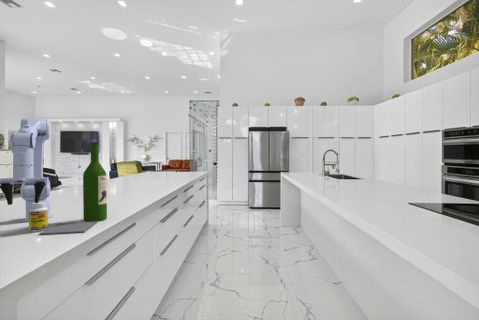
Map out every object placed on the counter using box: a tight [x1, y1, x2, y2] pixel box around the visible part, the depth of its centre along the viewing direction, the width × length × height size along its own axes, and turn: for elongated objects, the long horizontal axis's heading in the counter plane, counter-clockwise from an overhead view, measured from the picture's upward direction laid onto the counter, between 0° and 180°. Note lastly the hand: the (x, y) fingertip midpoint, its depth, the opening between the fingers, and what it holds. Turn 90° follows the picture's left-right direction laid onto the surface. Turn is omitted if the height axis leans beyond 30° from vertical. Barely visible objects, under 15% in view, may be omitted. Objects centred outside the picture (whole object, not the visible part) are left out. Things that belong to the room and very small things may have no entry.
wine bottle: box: [82, 144, 108, 223], centre depth 115 cm, size 9×9×32 cm
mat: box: [39, 221, 98, 236], centre depth 101 cm, size 14×14×1 cm
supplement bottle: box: [28, 202, 49, 233], centre depth 99 cm, size 6×6×10 cm
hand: (23, 203), depth 95 cm, fingers open, 7 cm apart
